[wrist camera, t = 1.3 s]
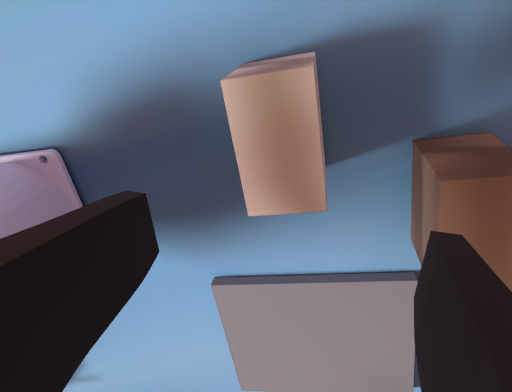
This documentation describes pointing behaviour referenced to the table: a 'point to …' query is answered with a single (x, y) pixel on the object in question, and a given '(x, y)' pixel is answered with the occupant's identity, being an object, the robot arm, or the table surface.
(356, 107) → the table surface
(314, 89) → the tan block
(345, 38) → the table surface
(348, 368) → the slate plate
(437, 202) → the walnut block
